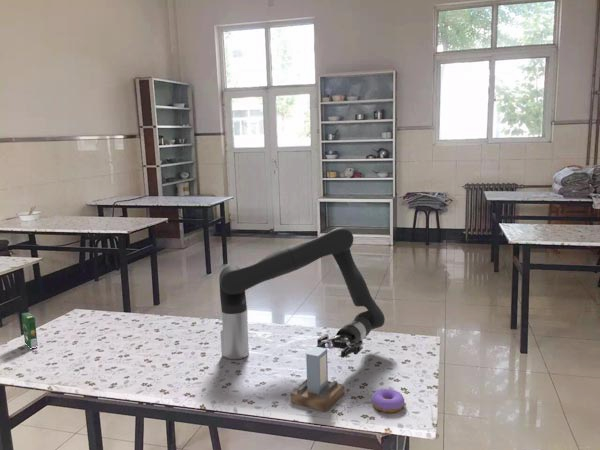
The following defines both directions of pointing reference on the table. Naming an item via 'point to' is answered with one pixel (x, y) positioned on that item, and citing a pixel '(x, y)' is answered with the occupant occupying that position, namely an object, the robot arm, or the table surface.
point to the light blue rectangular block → (317, 370)
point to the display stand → (318, 396)
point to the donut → (388, 400)
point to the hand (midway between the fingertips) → (329, 352)
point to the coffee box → (29, 329)
